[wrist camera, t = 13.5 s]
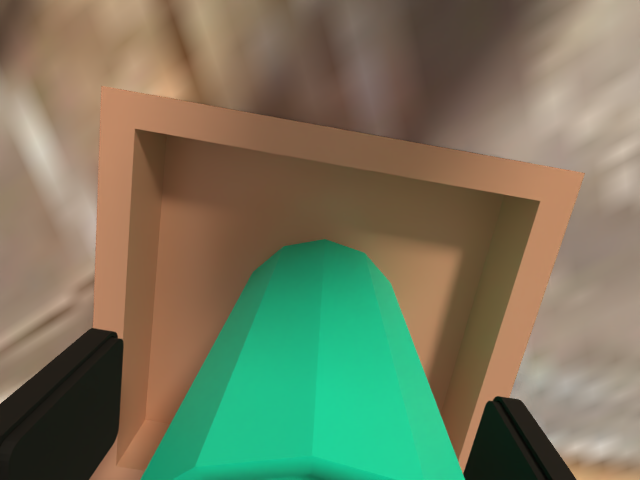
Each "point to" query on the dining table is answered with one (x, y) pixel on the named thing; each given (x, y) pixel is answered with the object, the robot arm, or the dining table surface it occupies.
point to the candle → (310, 383)
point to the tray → (305, 226)
